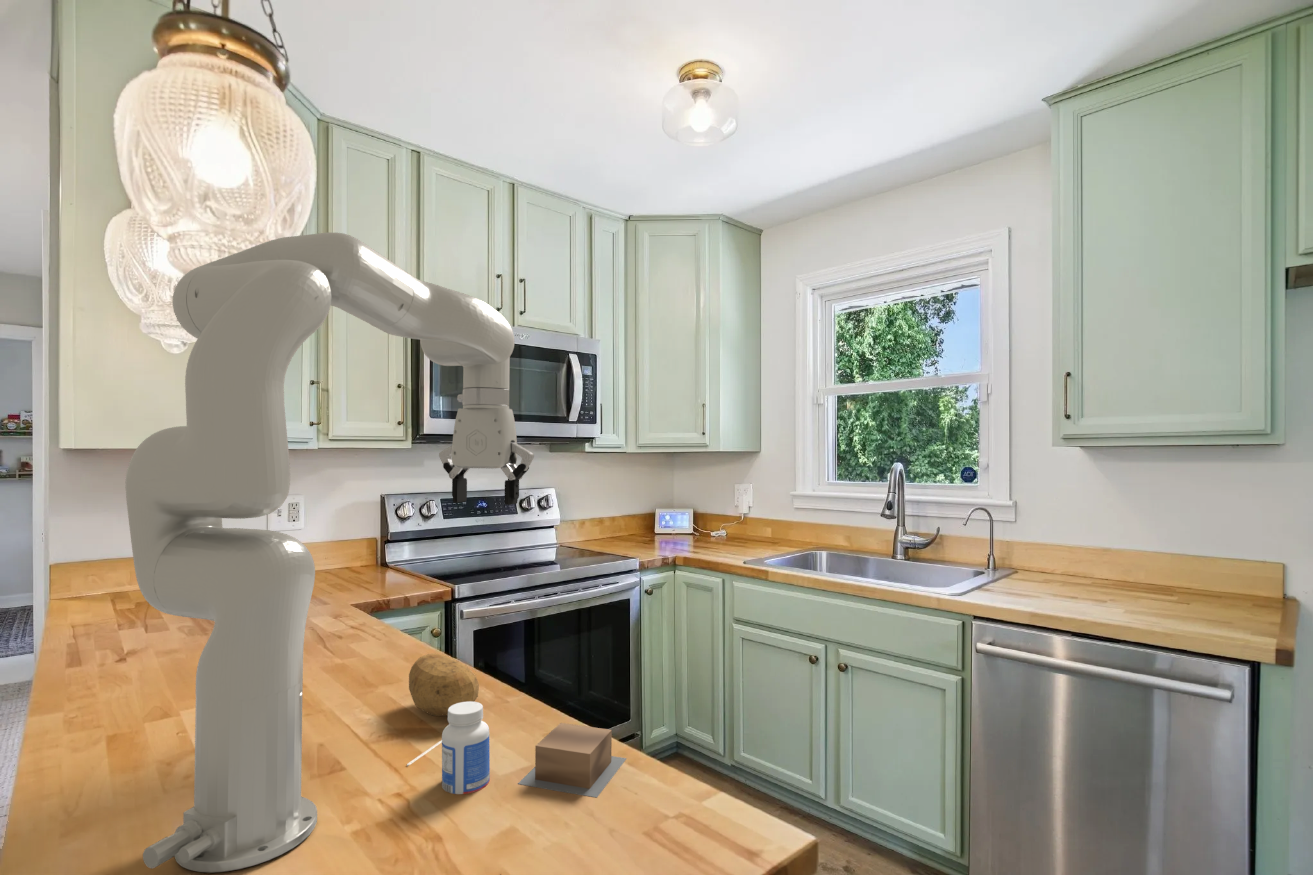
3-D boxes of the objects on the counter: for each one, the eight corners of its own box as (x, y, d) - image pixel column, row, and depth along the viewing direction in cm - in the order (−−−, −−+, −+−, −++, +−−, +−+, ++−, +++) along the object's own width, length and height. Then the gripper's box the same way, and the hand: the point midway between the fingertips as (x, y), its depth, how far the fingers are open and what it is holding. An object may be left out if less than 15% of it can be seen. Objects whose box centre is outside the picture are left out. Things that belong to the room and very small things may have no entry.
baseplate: (596, 806, 76) (596, 797, 76) (517, 792, 79) (517, 783, 79) (626, 766, 86) (626, 758, 86) (554, 754, 89) (554, 747, 89)
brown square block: (589, 788, 78) (590, 753, 78) (535, 779, 80) (535, 745, 80) (611, 761, 85) (611, 729, 85) (560, 753, 87) (560, 722, 87)
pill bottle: (493, 779, 82) (494, 698, 82) (484, 802, 77) (484, 716, 77) (448, 779, 82) (449, 698, 82) (435, 802, 77) (436, 716, 77)
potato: (432, 737, 94) (433, 679, 94) (394, 707, 104) (394, 655, 104) (496, 718, 100) (496, 664, 100) (453, 692, 111) (454, 643, 111)
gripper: (428, 399, 112) (426, 503, 112) (522, 398, 107) (520, 506, 107) (454, 402, 119) (453, 499, 119) (543, 401, 114) (542, 503, 114)
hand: (485, 503), depth 113 cm, fingers open, 9 cm apart
